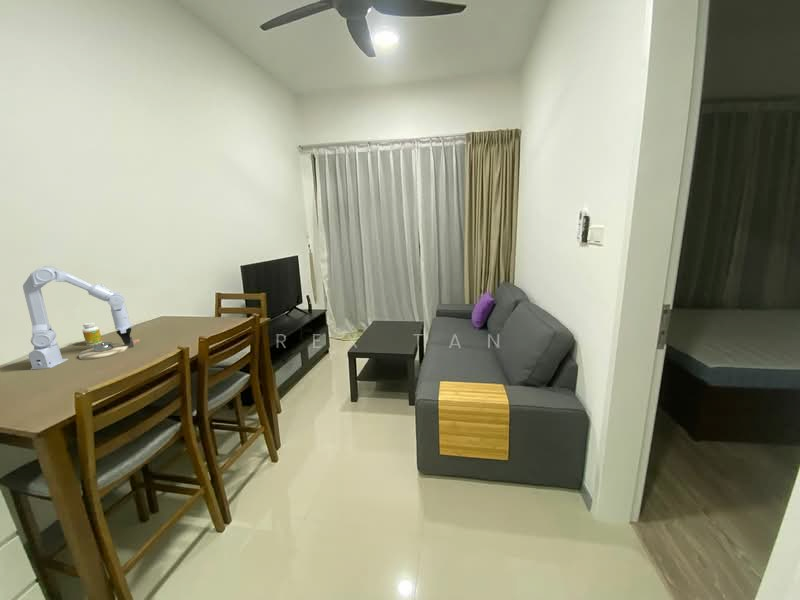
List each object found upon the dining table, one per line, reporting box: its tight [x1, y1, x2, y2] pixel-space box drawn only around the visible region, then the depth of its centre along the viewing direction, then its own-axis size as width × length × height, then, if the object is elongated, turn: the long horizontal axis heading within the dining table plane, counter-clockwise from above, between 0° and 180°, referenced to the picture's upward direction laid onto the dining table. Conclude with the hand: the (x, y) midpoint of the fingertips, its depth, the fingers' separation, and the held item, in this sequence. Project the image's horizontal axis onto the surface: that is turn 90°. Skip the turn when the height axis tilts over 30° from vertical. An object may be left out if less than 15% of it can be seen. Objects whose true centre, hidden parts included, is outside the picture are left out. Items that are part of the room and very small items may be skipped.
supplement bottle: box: [82, 321, 103, 346], centre depth 169 cm, size 6×6×11 cm
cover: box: [92, 341, 114, 352], centre depth 156 cm, size 7×7×3 cm
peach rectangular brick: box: [132, 338, 141, 344], centre depth 169 cm, size 3×1×2 cm, turn 160°
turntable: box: [78, 336, 134, 361], centre depth 157 cm, size 18×20×5 cm
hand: (127, 343), depth 160 cm, fingers closed
